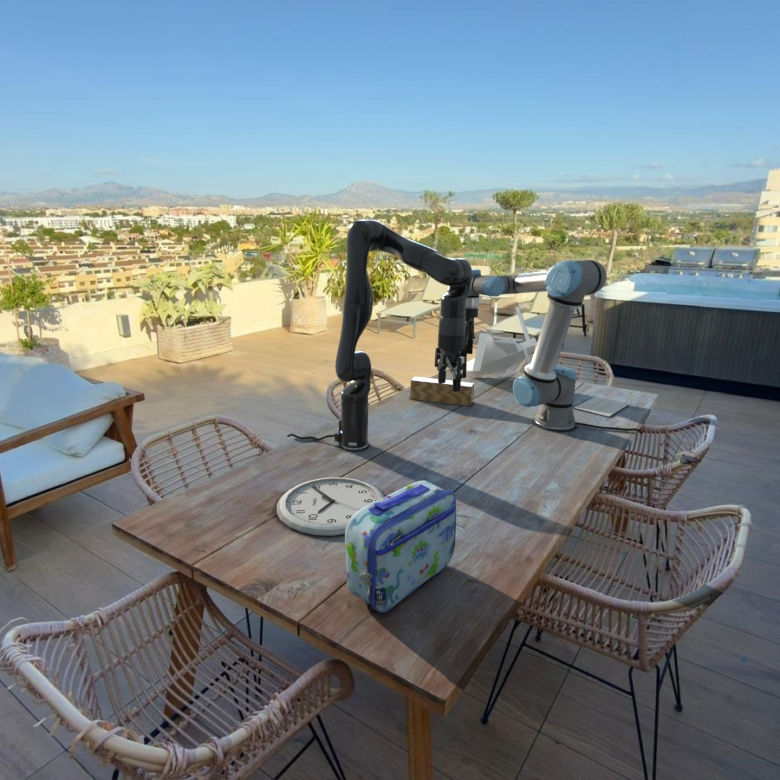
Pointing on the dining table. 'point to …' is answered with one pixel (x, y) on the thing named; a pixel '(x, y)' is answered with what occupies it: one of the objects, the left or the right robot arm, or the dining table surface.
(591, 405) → the invitation card
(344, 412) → the left robot arm
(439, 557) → the lunch box
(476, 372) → the white plastic object
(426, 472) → the dining table surface
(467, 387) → the box
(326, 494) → the wall clock
